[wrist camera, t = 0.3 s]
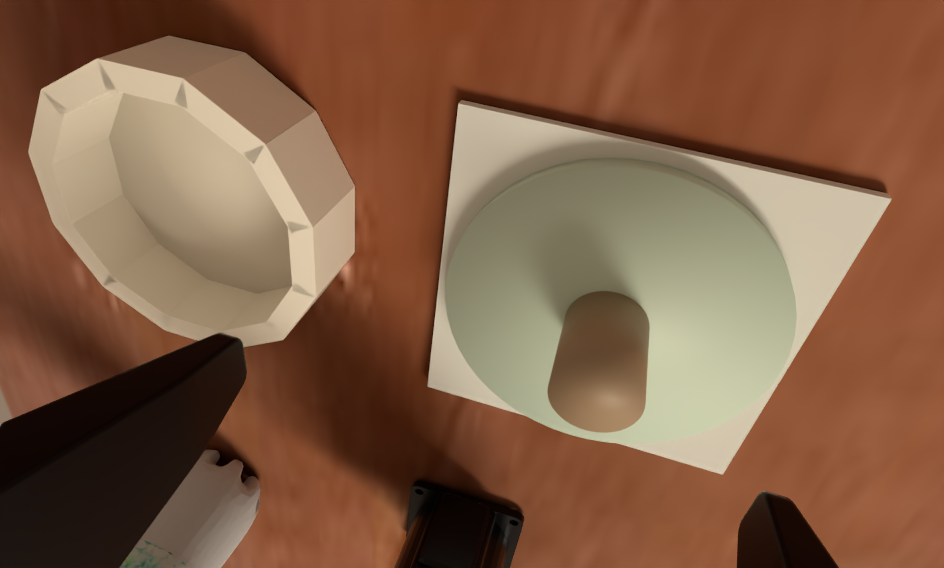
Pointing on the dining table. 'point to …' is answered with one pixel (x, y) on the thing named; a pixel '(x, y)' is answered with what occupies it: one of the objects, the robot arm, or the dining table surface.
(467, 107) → the mat
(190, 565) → the bottle
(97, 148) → the bowl
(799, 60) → the dining table surface
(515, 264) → the lid
